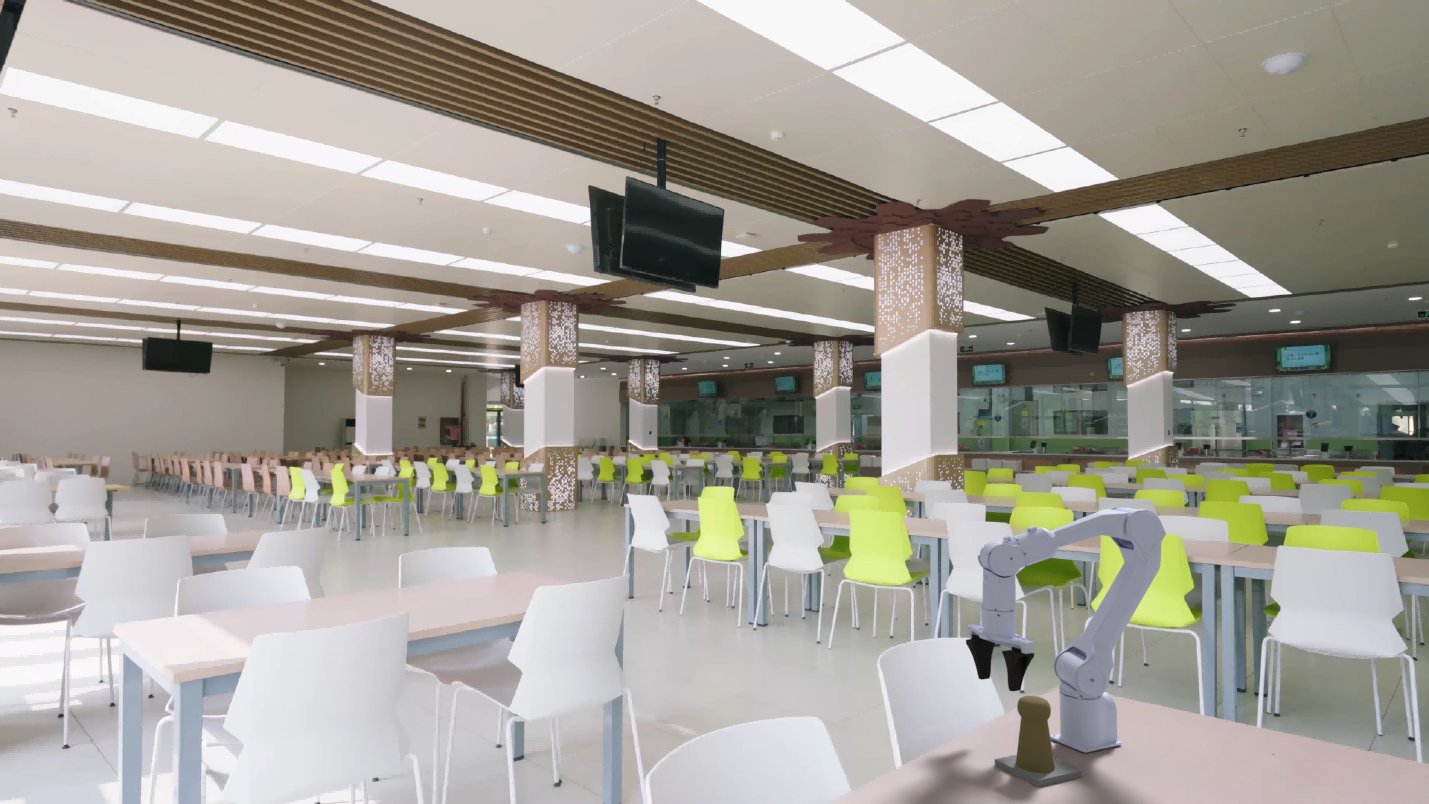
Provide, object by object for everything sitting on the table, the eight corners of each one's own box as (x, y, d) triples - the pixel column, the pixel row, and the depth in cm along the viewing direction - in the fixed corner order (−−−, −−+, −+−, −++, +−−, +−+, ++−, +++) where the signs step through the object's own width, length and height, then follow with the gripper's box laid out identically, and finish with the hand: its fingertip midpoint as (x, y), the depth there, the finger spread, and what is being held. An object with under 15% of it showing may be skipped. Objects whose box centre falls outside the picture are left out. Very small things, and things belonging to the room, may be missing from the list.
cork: (1057, 774, 130) (1055, 705, 130) (1017, 770, 131) (1015, 701, 132) (1052, 760, 136) (1051, 693, 136) (1014, 756, 137) (1013, 690, 138)
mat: (1036, 756, 140) (1036, 750, 140) (1082, 776, 131) (1082, 770, 132) (994, 765, 136) (994, 759, 136) (1038, 787, 128) (1038, 780, 128)
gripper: (954, 602, 153) (954, 675, 152) (1012, 618, 139) (1012, 698, 139) (983, 600, 156) (983, 672, 155) (1042, 615, 142) (1042, 694, 142)
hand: (999, 684), depth 147 cm, fingers open, 7 cm apart
